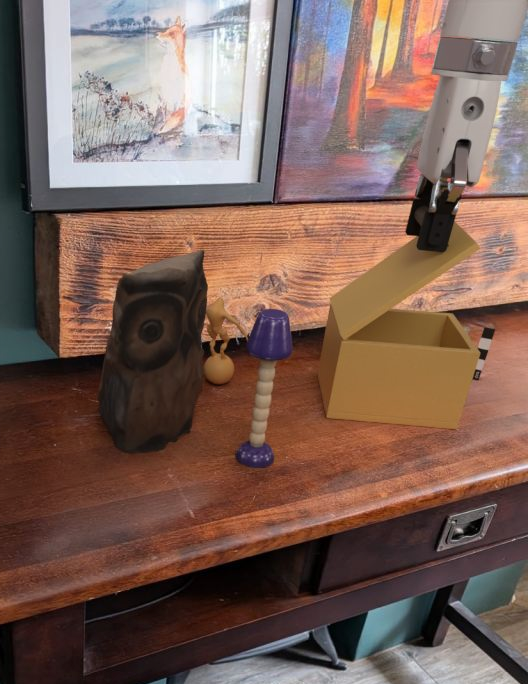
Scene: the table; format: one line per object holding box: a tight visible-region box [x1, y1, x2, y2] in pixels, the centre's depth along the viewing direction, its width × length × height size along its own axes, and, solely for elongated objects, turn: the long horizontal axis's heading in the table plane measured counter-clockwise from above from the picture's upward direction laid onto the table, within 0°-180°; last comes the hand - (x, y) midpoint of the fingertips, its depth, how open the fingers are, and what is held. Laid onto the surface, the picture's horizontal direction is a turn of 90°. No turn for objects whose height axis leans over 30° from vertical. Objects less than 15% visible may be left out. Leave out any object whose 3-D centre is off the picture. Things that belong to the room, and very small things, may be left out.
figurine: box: [203, 296, 249, 385], centre depth 95 cm, size 8×6×12 cm
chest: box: [317, 303, 480, 430], centre depth 94 cm, size 16×14×10 cm
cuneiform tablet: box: [461, 324, 496, 381], centre depth 106 cm, size 7×4×12 cm
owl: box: [96, 249, 209, 455], centre depth 81 cm, size 13×13×20 cm
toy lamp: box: [235, 308, 293, 469], centre depth 78 cm, size 5×5×17 cm
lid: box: [329, 206, 481, 340], centre depth 87 cm, size 17×14×5 cm
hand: (424, 241), depth 86 cm, fingers closed on lid, 6 cm apart
